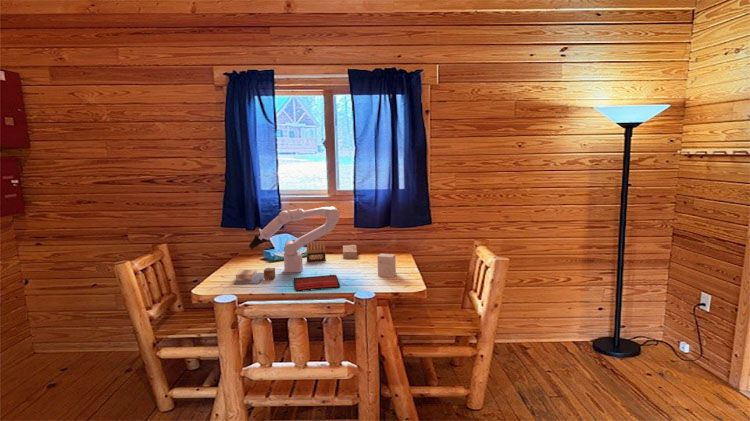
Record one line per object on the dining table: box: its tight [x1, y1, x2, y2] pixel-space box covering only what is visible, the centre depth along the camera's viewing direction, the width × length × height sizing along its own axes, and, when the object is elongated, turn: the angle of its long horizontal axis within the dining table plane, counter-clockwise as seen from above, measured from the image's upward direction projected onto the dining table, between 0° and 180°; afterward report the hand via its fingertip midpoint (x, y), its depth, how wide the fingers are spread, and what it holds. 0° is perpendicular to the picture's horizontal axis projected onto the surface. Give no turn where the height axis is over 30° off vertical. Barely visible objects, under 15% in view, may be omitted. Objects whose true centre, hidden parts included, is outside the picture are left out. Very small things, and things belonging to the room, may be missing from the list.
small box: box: [377, 253, 397, 278], centre depth 210 cm, size 8×6×10 cm
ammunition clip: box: [306, 240, 327, 263], centre depth 238 cm, size 11×2×12 cm, turn 105°
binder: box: [293, 274, 341, 292], centre depth 198 cm, size 16×2×21 cm
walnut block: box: [263, 267, 276, 281], centre depth 207 cm, size 4×4×5 cm
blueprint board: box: [232, 269, 264, 285], centre depth 207 cm, size 12×16×4 cm
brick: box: [342, 244, 358, 260], centre depth 251 cm, size 17×8×5 cm, turn 4°
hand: (252, 246), depth 216 cm, fingers open, 7 cm apart
